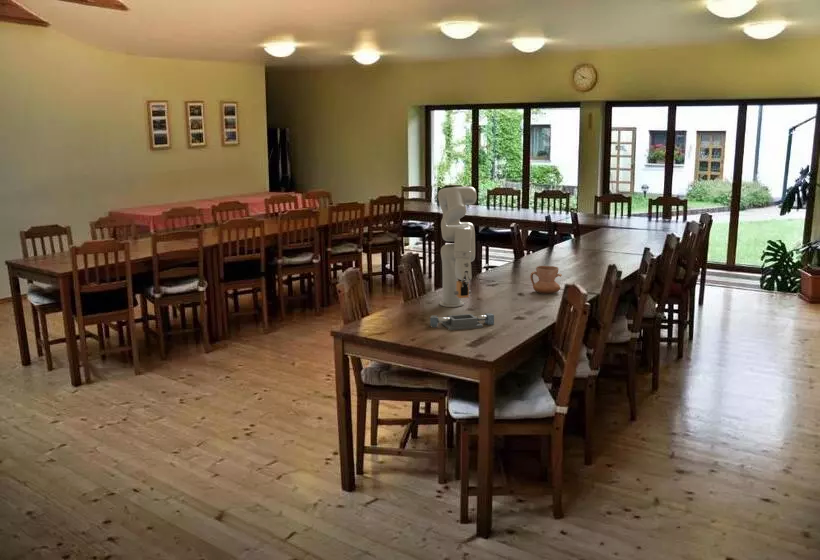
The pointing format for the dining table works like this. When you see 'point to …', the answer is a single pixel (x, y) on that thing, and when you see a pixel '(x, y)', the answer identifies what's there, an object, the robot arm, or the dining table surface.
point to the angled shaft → (438, 320)
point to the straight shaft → (486, 318)
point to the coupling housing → (462, 322)
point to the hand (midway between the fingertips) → (462, 293)
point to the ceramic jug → (546, 279)
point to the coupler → (458, 290)
